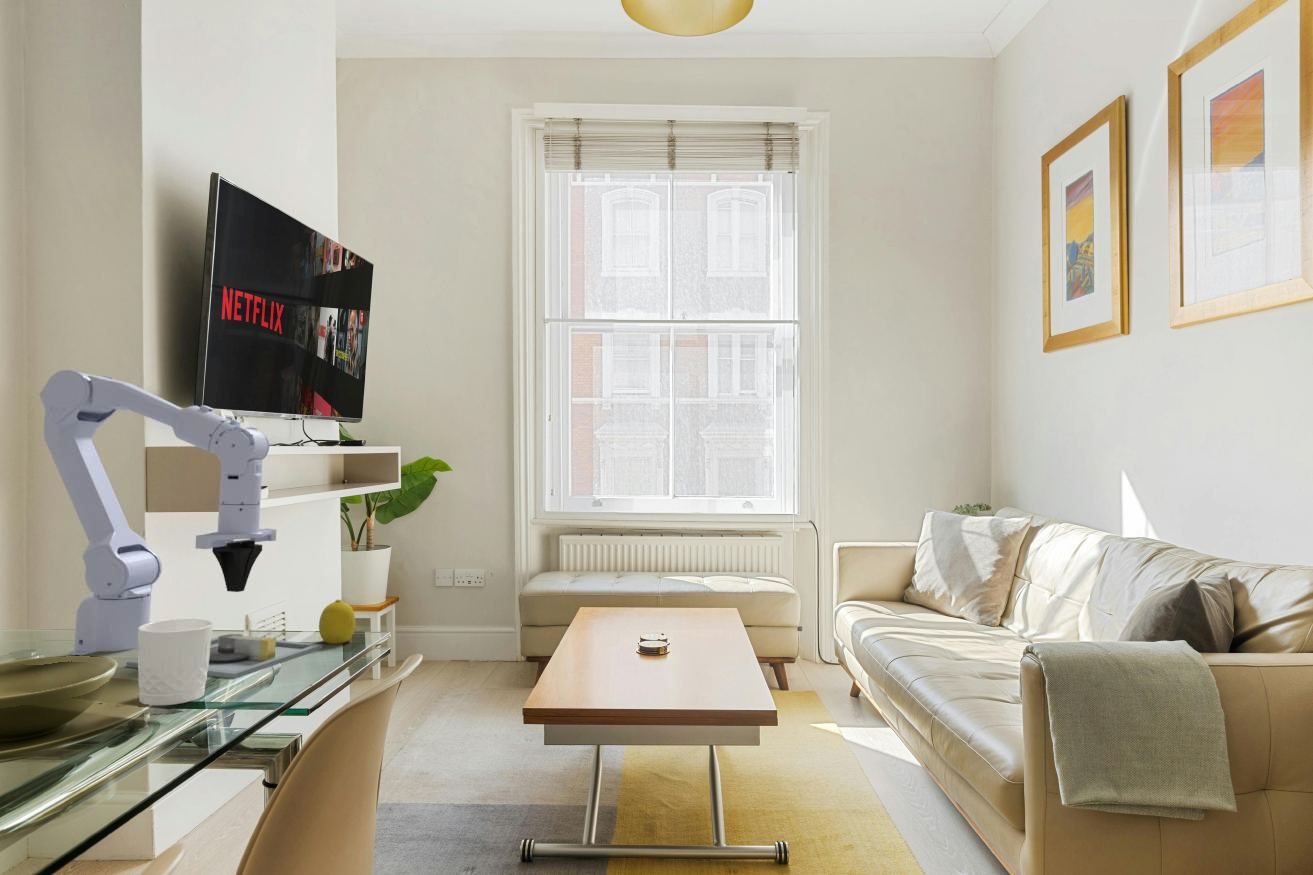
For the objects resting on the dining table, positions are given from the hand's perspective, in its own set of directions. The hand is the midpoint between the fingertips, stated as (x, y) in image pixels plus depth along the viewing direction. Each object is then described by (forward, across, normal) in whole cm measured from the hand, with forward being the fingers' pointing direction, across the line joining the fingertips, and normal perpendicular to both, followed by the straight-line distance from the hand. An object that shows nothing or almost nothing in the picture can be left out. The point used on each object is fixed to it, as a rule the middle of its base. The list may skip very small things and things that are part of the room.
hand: (235, 590), depth 121 cm
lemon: (+10, +9, -12) cm, 18 cm away
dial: (+9, -5, -5) cm, 11 cm away
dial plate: (+10, -5, -4) cm, 12 cm away
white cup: (+10, -23, -12) cm, 28 cm away
